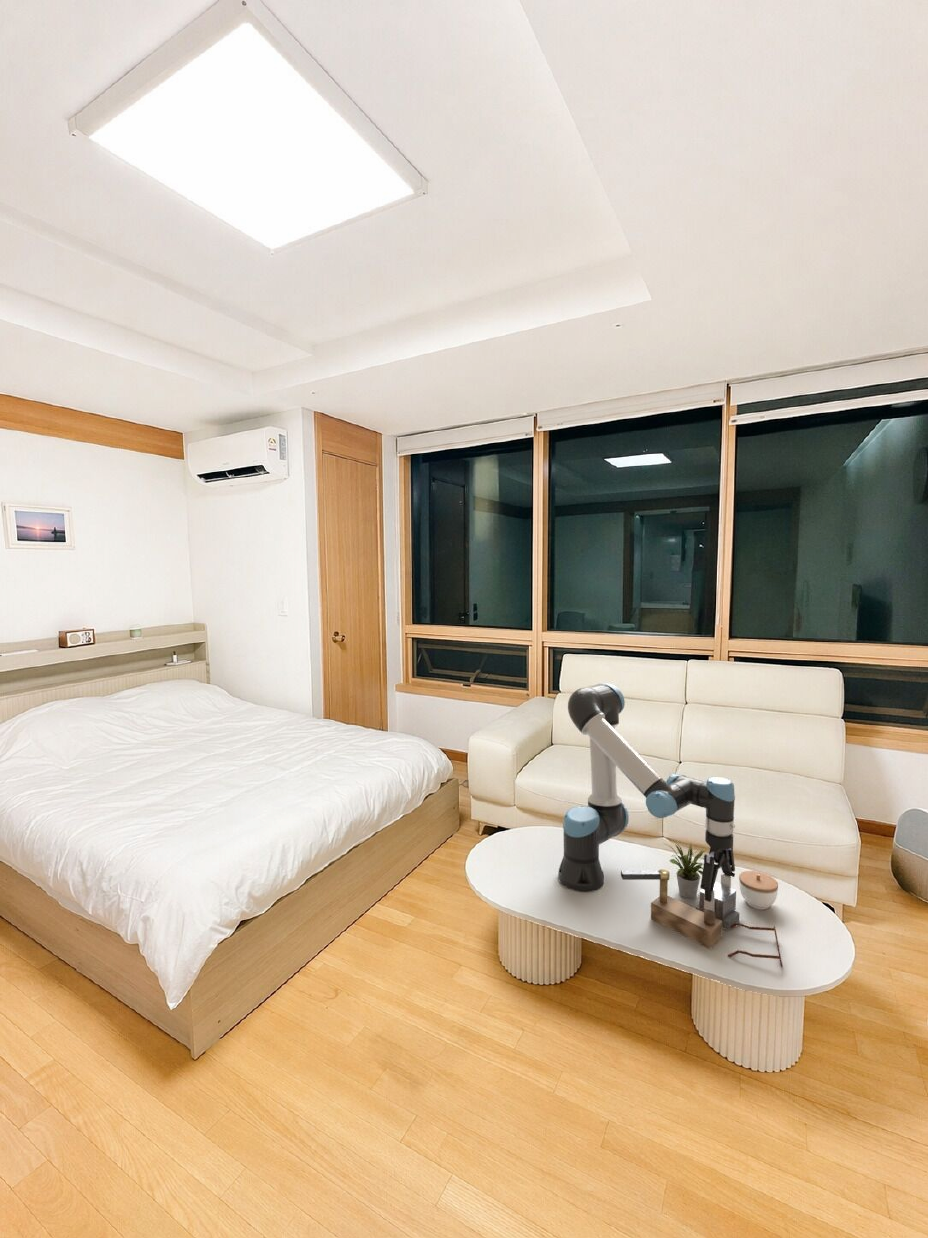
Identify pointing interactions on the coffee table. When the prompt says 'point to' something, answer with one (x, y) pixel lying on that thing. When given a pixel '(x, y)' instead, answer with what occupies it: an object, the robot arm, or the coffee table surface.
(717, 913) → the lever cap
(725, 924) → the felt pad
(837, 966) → the coffee table surface
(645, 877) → the lever
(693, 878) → the house plant
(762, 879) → the lidded jar
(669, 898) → the body
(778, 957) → the glasses
